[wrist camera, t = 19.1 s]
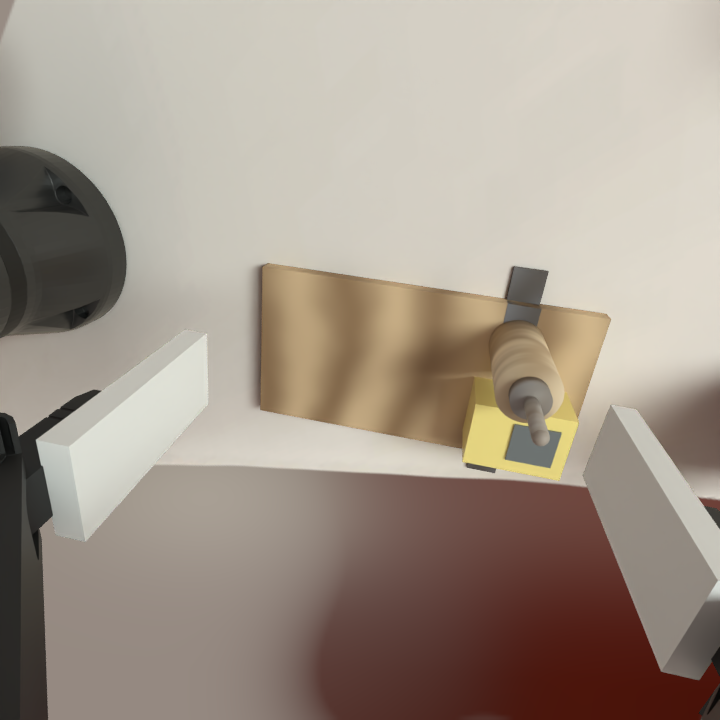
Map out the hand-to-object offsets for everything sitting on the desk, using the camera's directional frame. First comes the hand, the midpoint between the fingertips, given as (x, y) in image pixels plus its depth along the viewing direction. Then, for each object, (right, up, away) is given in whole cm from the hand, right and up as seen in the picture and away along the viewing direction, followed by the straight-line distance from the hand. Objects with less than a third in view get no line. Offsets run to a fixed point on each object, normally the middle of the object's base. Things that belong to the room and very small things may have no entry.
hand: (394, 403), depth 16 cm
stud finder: (+11, -3, +23) cm, 26 cm away
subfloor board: (+4, +1, +24) cm, 24 cm away
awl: (+11, +3, +21) cm, 23 cm away
